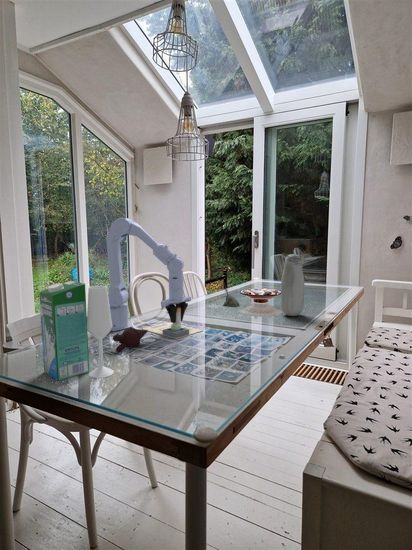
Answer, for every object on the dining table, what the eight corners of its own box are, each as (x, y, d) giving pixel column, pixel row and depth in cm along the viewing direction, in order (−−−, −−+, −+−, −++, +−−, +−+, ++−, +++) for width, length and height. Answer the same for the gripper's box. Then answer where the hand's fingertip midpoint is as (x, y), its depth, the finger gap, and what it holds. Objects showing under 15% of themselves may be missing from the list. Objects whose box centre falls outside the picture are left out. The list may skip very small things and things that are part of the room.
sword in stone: (243, 305, 197) (243, 282, 195) (237, 308, 190) (236, 285, 189) (226, 303, 202) (225, 281, 200) (219, 306, 195) (218, 283, 194)
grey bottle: (304, 318, 166) (306, 254, 162) (281, 317, 167) (282, 254, 164) (302, 313, 175) (304, 253, 172) (280, 312, 177) (281, 253, 174)
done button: (175, 333, 139) (175, 326, 138) (169, 331, 141) (168, 325, 141) (182, 331, 141) (182, 324, 141) (176, 330, 144) (176, 323, 143)
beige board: (176, 338, 136) (176, 337, 136) (141, 329, 149) (141, 328, 149) (202, 331, 146) (202, 330, 146) (168, 322, 160) (168, 322, 160)
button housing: (175, 337, 136) (175, 333, 136) (162, 334, 141) (162, 329, 141) (189, 333, 141) (189, 329, 141) (176, 330, 146) (176, 326, 146)
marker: (176, 327, 149) (176, 308, 148) (171, 326, 151) (170, 307, 150) (182, 326, 151) (182, 307, 150) (177, 324, 153) (177, 306, 152)
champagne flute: (118, 372, 104) (115, 286, 101) (97, 379, 99) (93, 289, 96) (105, 366, 109) (101, 284, 106) (84, 373, 104) (79, 287, 101)
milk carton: (43, 372, 105) (38, 283, 102) (74, 363, 111) (70, 280, 108) (57, 381, 99) (52, 286, 96) (89, 371, 105) (85, 282, 102)
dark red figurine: (137, 322, 135) (104, 335, 123) (151, 319, 131) (119, 333, 119) (142, 340, 135) (110, 355, 123) (157, 339, 131) (125, 354, 119)
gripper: (169, 291, 141) (169, 326, 143) (196, 286, 152) (196, 319, 153) (156, 289, 146) (157, 323, 147) (183, 285, 156) (184, 317, 158)
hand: (176, 321), depth 151 cm, fingers closed on marker, 3 cm apart
